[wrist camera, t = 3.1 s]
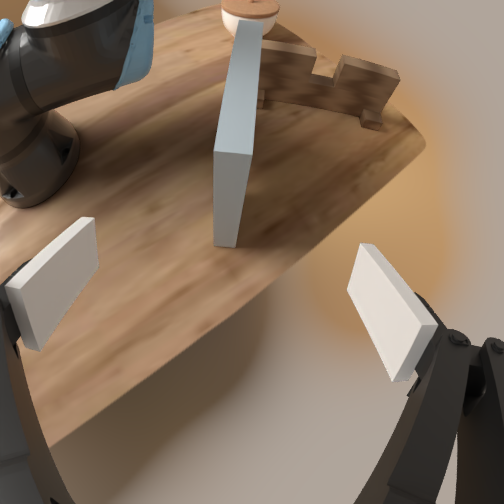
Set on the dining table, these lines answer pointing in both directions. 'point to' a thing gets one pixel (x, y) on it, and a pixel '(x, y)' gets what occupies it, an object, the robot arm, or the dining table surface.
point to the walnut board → (324, 82)
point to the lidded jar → (249, 13)
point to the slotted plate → (236, 133)
